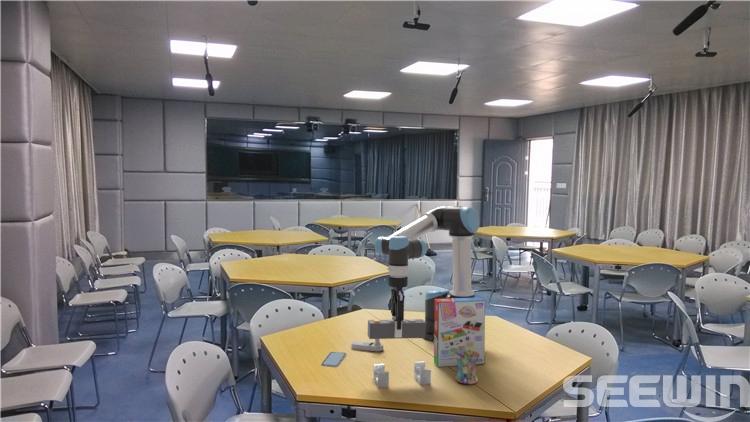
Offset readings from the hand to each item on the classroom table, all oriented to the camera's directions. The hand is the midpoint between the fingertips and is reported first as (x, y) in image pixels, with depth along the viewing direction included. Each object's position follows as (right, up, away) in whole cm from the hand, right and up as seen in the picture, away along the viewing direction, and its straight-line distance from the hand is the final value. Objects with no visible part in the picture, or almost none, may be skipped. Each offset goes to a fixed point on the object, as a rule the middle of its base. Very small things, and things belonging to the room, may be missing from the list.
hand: (396, 334), depth 186 cm
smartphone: (-26, -15, +15) cm, 33 cm away
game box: (+27, -15, +13) cm, 33 cm away
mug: (+26, -16, -7) cm, 32 cm away
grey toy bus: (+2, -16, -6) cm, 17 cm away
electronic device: (-12, -14, +29) cm, 35 cm away
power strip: (0, -1, 0) cm, 1 cm away
